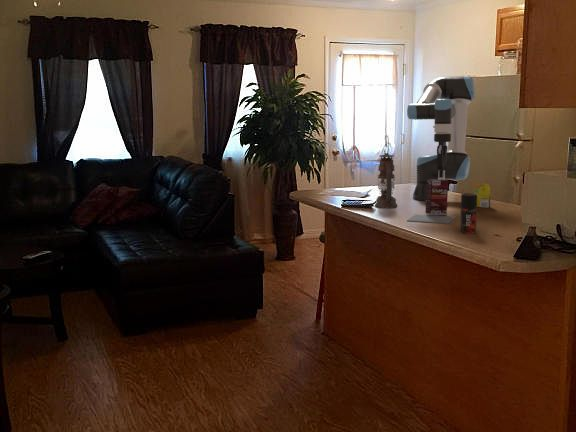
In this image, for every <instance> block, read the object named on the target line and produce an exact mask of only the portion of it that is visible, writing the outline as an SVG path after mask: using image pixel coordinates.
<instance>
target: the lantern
mask: <svg viewBox="0 0 576 432" xmlns="http://www.w3.org/2000/svg"><path fill="white" fill-rule="evenodd" d="M386 138H389V135H384V139H386ZM389 143H390V141H389V139H387V152H384V154H380V155H378V156H379V157H380V159H379V164H378V169H377V170H378V172H379V174H378V175H377V183H378V184H377V189H378V191H379V195H378V196H377V198H376V200H375V201H376V203H374V207H375V208H378V209H395V208H397V207H398V204H397V199H396V198H395V197H394V196H393V195H394V189H395V183H394V182H395V181H396V180H395V179H396V177H395V174H394V172H395V164H394V159H393V157H395V155H394V154H389V150H390V149H389V147H390V144H389Z"/></svg>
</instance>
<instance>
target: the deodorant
mask: <svg viewBox="0 0 576 432" xmlns="http://www.w3.org/2000/svg"><path fill="white" fill-rule="evenodd" d="M460 200H461V201H460V203H461V204H460V205H461V206H460V226H459V228H460V229H459V232H460V233H461V232H462V234H466V233H473V234H476V232H477V214H478V213H477V212H478V210H477V208H478V207H477V194H474V193H462V194H461V199H460Z"/></svg>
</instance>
